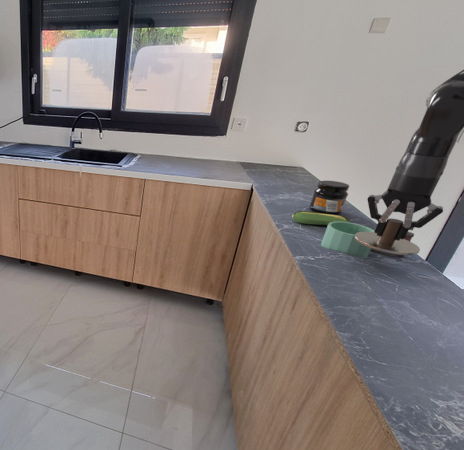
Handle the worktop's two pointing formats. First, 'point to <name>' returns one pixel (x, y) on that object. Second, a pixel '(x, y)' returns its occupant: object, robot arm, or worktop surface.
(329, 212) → the supplement container
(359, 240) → the lid
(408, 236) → the lighter
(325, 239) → the green faceted pot
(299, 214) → the edible corn
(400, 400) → the worktop surface
